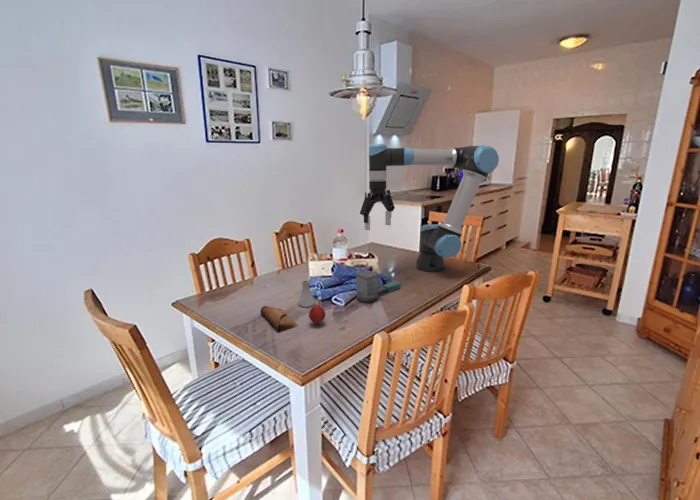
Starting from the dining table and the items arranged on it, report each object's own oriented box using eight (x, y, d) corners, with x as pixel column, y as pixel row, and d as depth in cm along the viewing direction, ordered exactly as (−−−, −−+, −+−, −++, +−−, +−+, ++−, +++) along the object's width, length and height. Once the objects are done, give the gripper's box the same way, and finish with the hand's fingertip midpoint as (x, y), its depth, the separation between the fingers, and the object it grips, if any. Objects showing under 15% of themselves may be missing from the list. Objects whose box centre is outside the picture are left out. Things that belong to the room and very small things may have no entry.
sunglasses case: (300, 326, 129) (290, 313, 125) (285, 339, 127) (275, 327, 123) (280, 308, 143) (271, 297, 140) (266, 320, 141) (257, 309, 138)
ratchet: (390, 284, 167) (390, 270, 165) (405, 290, 160) (405, 275, 158) (352, 298, 152) (352, 283, 150) (367, 305, 145) (367, 288, 144)
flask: (308, 299, 152) (307, 277, 149) (319, 304, 147) (318, 281, 144) (294, 304, 147) (293, 281, 145) (305, 309, 142) (303, 286, 140)
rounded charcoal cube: (367, 288, 155) (367, 270, 153) (378, 292, 150) (378, 274, 148) (356, 292, 151) (356, 274, 149) (367, 296, 146) (367, 278, 144)
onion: (312, 329, 127) (311, 308, 125) (307, 322, 132) (306, 302, 130) (327, 325, 129) (327, 305, 127) (322, 319, 134) (321, 299, 132)
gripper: (390, 177, 169) (390, 222, 175) (351, 182, 153) (352, 230, 159) (402, 178, 163) (402, 224, 169) (363, 183, 147) (364, 233, 153)
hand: (378, 227), depth 164 cm, fingers open, 13 cm apart
